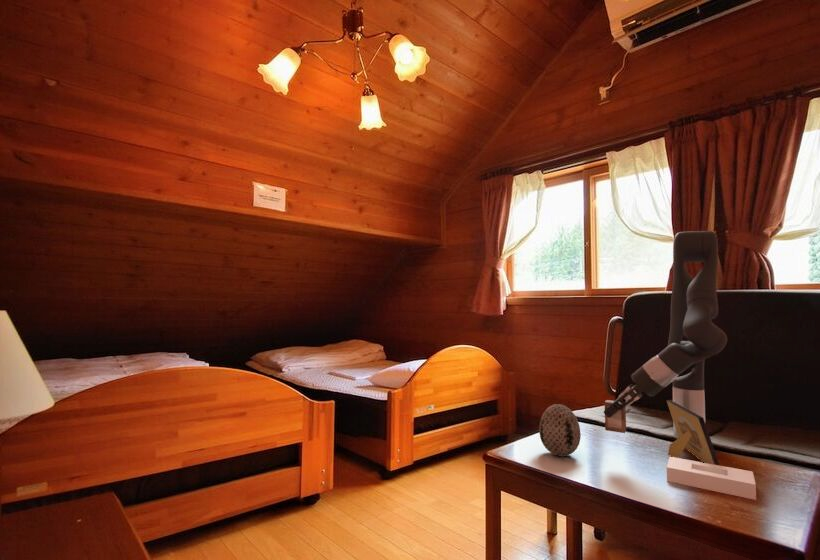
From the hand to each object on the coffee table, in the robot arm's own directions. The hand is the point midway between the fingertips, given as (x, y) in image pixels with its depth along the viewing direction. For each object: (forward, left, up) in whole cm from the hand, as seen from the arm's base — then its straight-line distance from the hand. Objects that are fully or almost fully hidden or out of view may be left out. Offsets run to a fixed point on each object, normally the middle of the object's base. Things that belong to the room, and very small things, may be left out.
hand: (607, 413), depth 125 cm
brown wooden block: (0, +2, -4) cm, 5 cm away
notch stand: (0, +24, -14) cm, 28 cm away
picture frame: (-19, +18, -14) cm, 30 cm away
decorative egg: (+2, -13, -14) cm, 19 cm away
